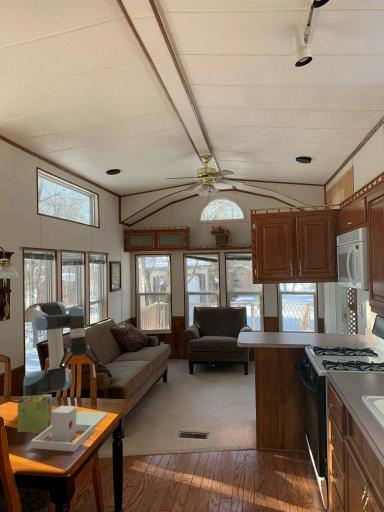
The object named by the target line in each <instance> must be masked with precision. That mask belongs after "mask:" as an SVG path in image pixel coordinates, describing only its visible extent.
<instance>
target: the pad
mask: <svg viewBox="0 0 384 512" xmlns="http://www.w3.org/2000/svg"><path fill="white" fill-rule="evenodd" d="M108 415H109V414H108V412H97V411H96V412H94V411H82V410H80V411H76V423H79V424H94V425H95V428H96V427H97V426H98V425H99V424H100V423H101V422H102V421H103V420H105V418H106V417H107V416H108Z"/></svg>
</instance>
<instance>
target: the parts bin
mask: <svg viewBox="0 0 384 512" xmlns="http://www.w3.org/2000/svg"><path fill="white" fill-rule="evenodd" d="M95 428H96V427H95V425H94V424H79V423H76V432H82V434H81V435H80V436H79V437H77V439H76V440H75V441H74V442H69V443H68V442H55V441H52V440H45V439H47V438H48V437H49V436H51V435H52V434H51V433H52V424H51V425H50V427H48V428H47V429H46V430H42V432H41V433H40V434H38V435H37V436H35V437H34V438H32V440H30V444H31V445H30V448H31V449H35V450H36V449H37V450H38V449H39V450H50V451H60V452H61V451H62V452H73V453H74V452H76V450H78V449H79V447H80V446H82V444H83V443H84V442H86V440H88V438H90V437H91V436H92V435H93V434H94V432H95ZM46 437H47V438H46ZM42 440H43V441H42Z"/></svg>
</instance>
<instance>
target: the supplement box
mask: <svg viewBox="0 0 384 512" xmlns="http://www.w3.org/2000/svg"><path fill="white" fill-rule="evenodd" d="M76 413H77V406H71V405H68V406H67V405H60V406H59V407H57V408H56V409H54V410H52V423H51V425H52V434H51V441H55V442H68V443H71V442H72V441H73V440H74V439H75V438H76V437H77V431H76Z"/></svg>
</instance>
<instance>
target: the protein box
mask: <svg viewBox="0 0 384 512" xmlns="http://www.w3.org/2000/svg"><path fill="white" fill-rule="evenodd" d="M52 412H53V409H52V394H45V395H35V396H24V395H23V396H22V397H21V399H20V400H19V401H18V402H17V433H26V432H29V433H30V432H38V431H42V432H43V431H45V430H46V429H47V428H48V427H50V426H51V425H52Z"/></svg>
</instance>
